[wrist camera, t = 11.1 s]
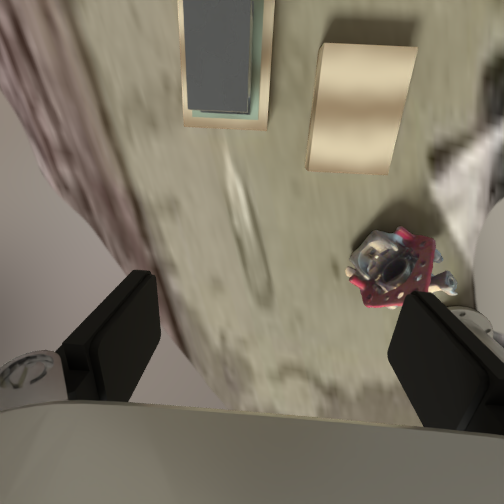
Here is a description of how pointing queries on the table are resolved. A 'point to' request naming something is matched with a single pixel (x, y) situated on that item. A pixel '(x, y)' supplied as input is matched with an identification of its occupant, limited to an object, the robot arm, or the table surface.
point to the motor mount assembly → (397, 268)
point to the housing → (219, 55)
